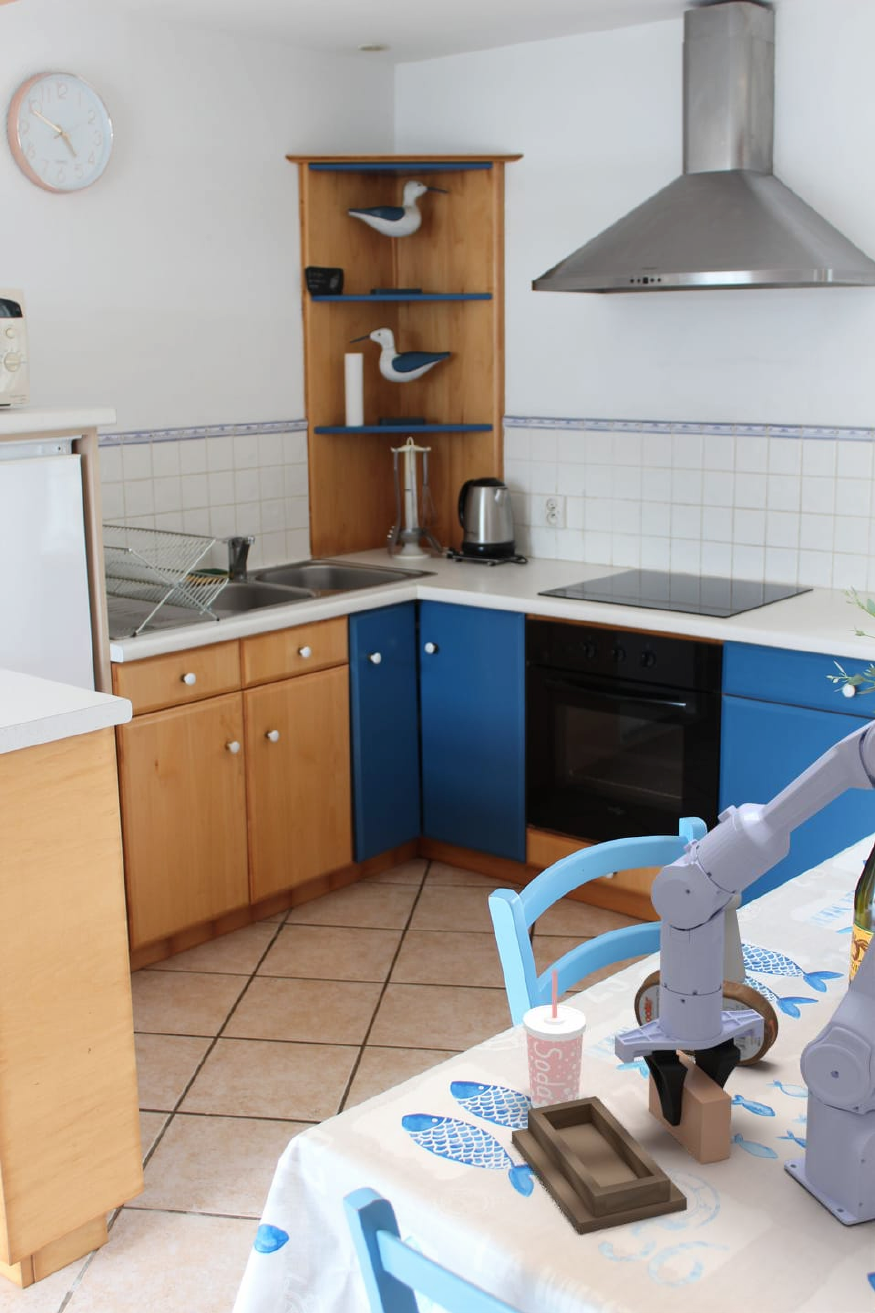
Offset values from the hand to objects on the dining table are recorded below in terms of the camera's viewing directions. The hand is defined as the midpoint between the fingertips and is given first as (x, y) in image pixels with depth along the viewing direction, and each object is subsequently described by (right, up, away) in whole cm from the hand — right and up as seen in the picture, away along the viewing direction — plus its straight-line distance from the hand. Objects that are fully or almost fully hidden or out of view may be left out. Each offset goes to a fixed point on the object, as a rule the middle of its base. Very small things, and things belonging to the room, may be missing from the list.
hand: (688, 1117), depth 128 cm
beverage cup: (-12, -1, +6) cm, 13 cm away
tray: (-9, -3, -6) cm, 12 cm away
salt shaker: (+9, +4, +29) cm, 31 cm away
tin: (+4, +1, +15) cm, 16 cm away
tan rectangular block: (0, -2, 0) cm, 2 cm away
